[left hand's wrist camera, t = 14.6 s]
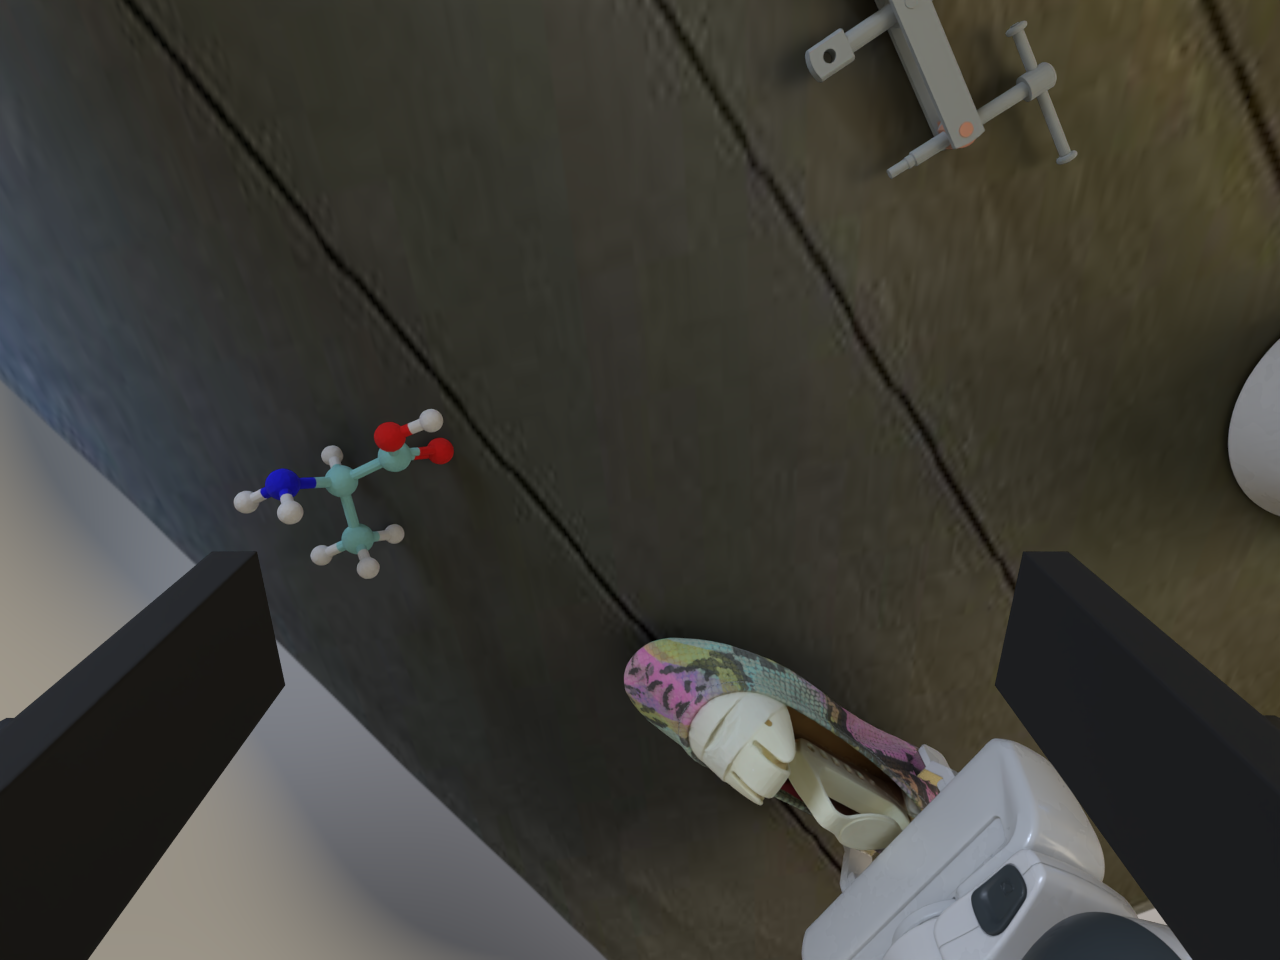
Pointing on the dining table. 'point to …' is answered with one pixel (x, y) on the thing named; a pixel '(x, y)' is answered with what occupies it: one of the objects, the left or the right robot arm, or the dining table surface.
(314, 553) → the molecular model
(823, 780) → the ballet flat
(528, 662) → the dining table surface
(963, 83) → the clamp
